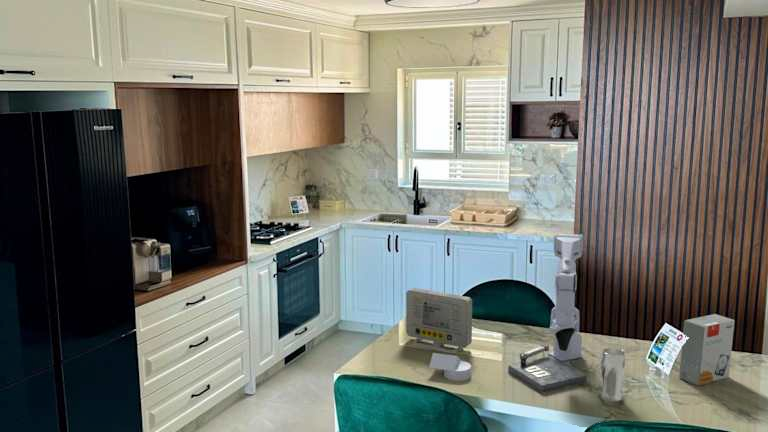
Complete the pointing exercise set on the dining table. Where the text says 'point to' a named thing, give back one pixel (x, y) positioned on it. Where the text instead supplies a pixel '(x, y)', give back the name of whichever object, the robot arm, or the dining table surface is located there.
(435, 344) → the network device
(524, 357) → the grey ball-ended handle
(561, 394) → the dining table surface
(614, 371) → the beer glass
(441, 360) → the wedge on round base
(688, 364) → the hard drive box
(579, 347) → the robot arm
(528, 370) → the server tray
